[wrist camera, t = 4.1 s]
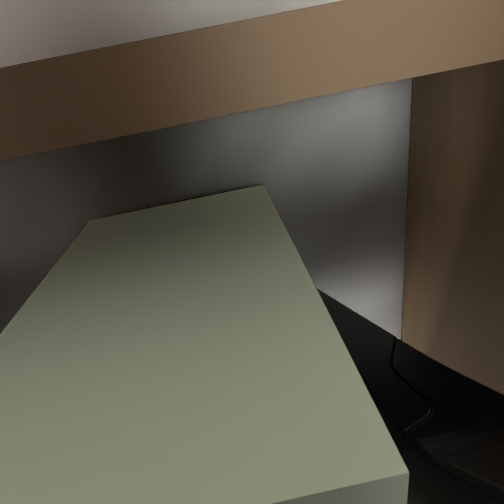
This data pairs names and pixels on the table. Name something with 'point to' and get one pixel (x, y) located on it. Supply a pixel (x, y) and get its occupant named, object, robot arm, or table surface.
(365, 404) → the block
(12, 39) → the table surface
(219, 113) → the open frame
